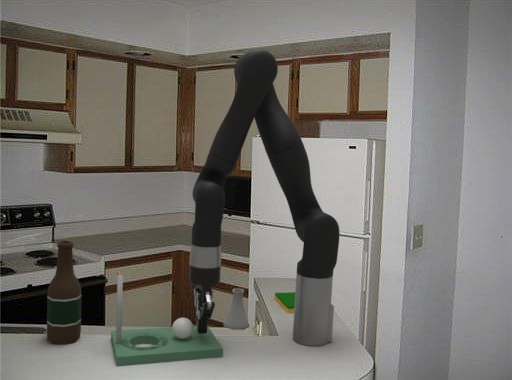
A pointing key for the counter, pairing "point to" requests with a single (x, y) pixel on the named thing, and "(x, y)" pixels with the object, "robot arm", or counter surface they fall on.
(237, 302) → the flask
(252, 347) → the counter surface
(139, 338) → the putting board
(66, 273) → the beer bottle
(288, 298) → the dish sponge
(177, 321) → the ball
